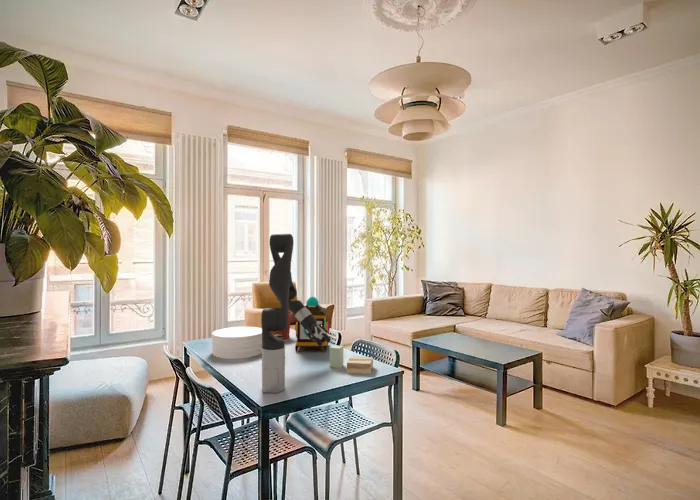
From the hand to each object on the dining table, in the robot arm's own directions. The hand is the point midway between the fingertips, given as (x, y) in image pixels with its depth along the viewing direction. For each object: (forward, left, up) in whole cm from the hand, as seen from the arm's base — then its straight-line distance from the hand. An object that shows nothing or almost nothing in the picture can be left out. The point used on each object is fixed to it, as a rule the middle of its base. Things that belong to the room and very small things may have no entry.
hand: (325, 343), depth 197 cm
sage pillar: (-2, -6, -11) cm, 12 cm away
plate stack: (+20, +52, -11) cm, 57 cm away
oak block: (-7, -18, -11) cm, 22 cm away
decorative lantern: (+31, +12, -11) cm, 35 cm away
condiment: (+10, +28, -11) cm, 32 cm away
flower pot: (+56, +38, -11) cm, 69 cm away
